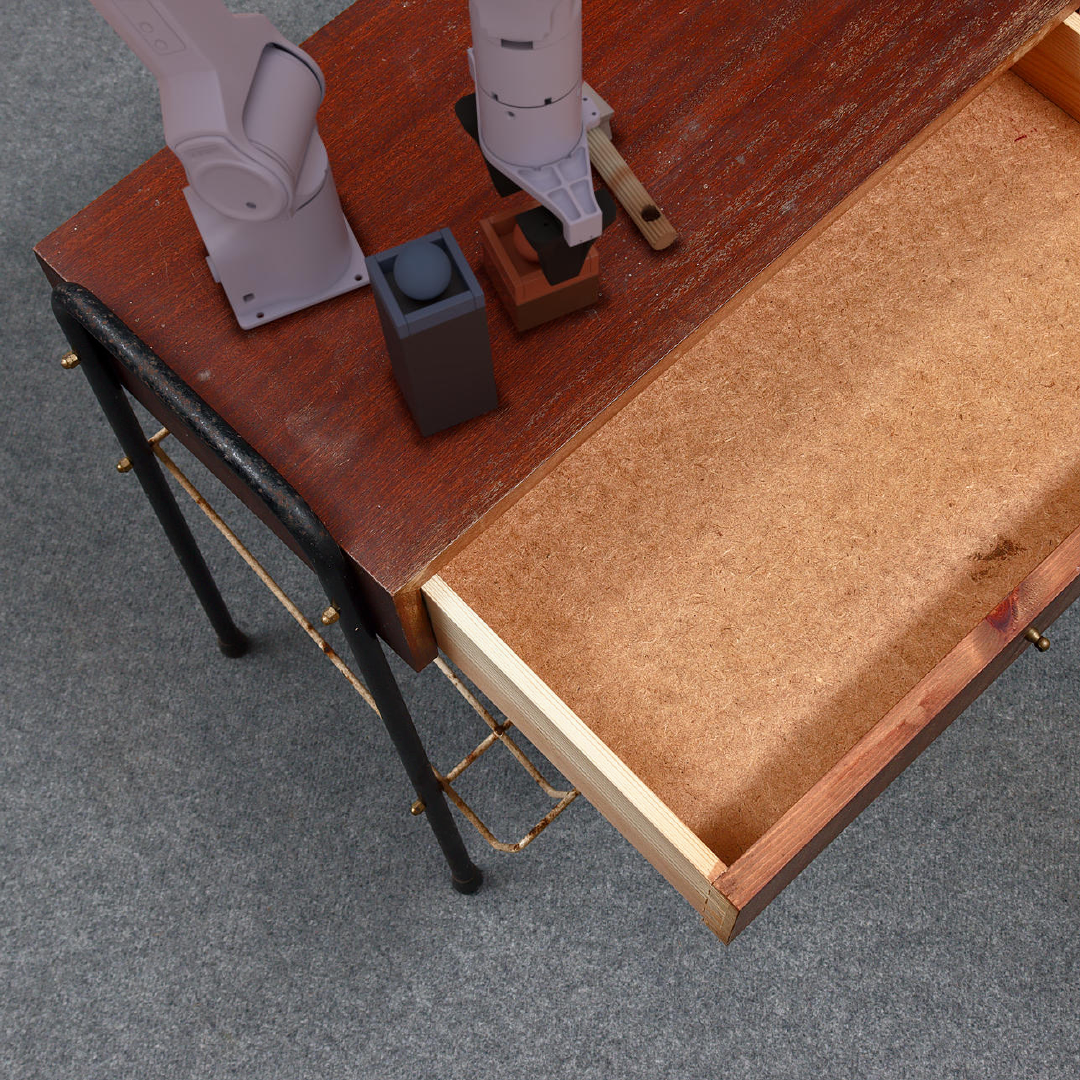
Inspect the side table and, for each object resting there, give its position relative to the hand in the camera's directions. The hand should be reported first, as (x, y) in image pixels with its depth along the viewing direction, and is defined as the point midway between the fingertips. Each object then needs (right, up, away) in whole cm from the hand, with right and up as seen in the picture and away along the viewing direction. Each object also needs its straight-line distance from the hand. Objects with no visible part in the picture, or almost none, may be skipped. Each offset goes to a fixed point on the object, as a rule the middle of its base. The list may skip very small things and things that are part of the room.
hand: (537, 232), depth 80 cm
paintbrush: (+4, +8, +10) cm, 13 cm away
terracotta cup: (0, -2, +5) cm, 6 cm away
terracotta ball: (0, 0, 0) cm, 0 cm away
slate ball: (-6, -5, -10) cm, 13 cm away
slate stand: (-6, -10, +2) cm, 12 cm away
